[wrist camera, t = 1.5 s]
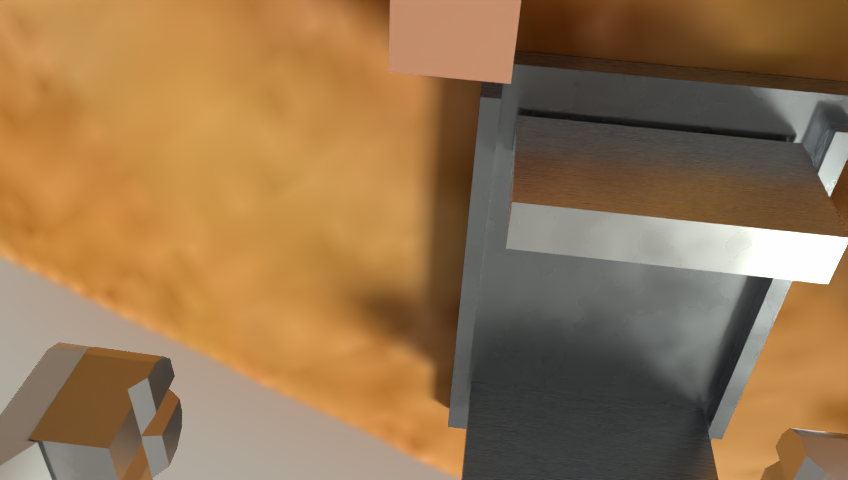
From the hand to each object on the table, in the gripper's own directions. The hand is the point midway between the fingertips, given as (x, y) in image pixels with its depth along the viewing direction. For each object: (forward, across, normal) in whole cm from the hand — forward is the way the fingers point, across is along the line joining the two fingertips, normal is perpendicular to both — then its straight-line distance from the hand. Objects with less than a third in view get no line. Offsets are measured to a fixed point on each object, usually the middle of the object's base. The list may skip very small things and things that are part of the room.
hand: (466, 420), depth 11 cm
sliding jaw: (+21, -6, +7) cm, 23 cm away
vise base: (+23, -6, +15) cm, 28 cm away
